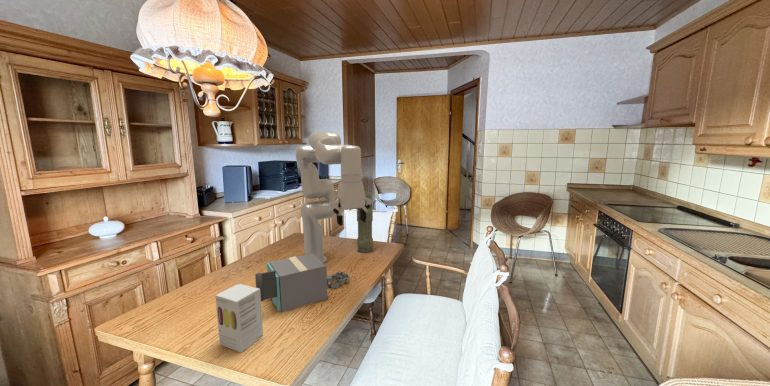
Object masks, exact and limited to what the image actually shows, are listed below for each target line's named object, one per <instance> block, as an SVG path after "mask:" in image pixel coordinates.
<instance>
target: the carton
mask: <svg viewBox="0 0 770 386" xmlns="http://www.w3.org/2000/svg"><path fill="white" fill-rule="evenodd" d="M269 263H270V265H271V266H272V268H273V269H274V270H275V272H276V274H277V275H278V276H279V289H280V305H281V311H280V312H281V313H284V312H286V311H290V310H293V309H297V308H301V307H304V306H308V305H311V304H315V303H319V302H323V301H325V300H328V287H327V277H328V274H327V273H328V272H327V265H326V264H325V263H323V262H321V261H320V260H319V259H318V258H317V257H316V256H315V255H314V254H313V253H312V254H307V255H305V254H303V255H297V256H295V255H294V256H291V257H288V258H282V259H277V260H273V261H269Z"/></svg>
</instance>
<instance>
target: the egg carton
mask: <svg viewBox="0 0 770 386" xmlns="http://www.w3.org/2000/svg"><path fill="white" fill-rule="evenodd" d="M349 278H351V275H350V274H349V275H348V273H346V272H344V271H341V270H338V271H336V272H335V273H332V274H330V275H327V288H328V287H330V288H331V289H338V288H339V287H340V286H344V284H345V283H349Z"/></svg>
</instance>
